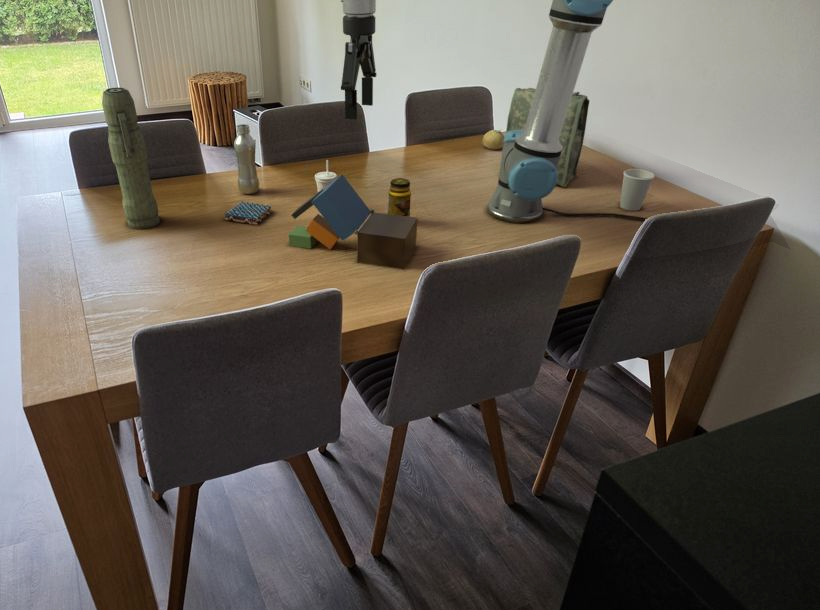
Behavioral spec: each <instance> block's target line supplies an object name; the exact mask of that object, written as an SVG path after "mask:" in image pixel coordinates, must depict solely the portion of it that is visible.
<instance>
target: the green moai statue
mask: <svg viewBox="0 0 820 610" xmlns="http://www.w3.org/2000/svg"><path fill="white" fill-rule="evenodd" d="M101 105H102V110H103V115H104V119H105V123H106V125H107V127H108V128H107V132H108V137H107V142H108V143H107V144H108V147H109V151H110V156H111V160H112V163H113V164H114V166H115V170H116V173H117V178H118V182H119V187H120V190H121V195H122V200H121V201H122V209H123V214H124V217H125V218H126V223H127V226H128V227H129V228H131V229H134V230H145V229H149V228H153V227H155V226H157V225H158V224H160V221H161V220H160V216H159V206H158V202H157V200H156V198H155V197H154V191H153V186H152V182H151V177H150V172H149V171H150V170H149V167H148V162H147V161H148V157H149V156H148V153H147V152H148V151H147V147H146V143H145V138H144V136H143V134H142V132H141V130H140V126H139V123H138V121H139V120H138V115H137V110H136V104H135V101H134V98H133V97H132V95H131V92H130V91H129V89H127V88H125V87H111V88H106V89H105V90H103V91H102V97H101Z"/></svg>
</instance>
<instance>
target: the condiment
mask: <svg viewBox="0 0 820 610" xmlns="http://www.w3.org/2000/svg"><path fill="white" fill-rule="evenodd" d="M411 196H412V191H411V181H410V180H409V179H407V178H405V177H396V178H393V179H392V180H391V181H390V186H389V190H388V205H387V211H388V212H387V214H392V215H400V216H408V217H411V216H410V215H411V199H412V198H411Z"/></svg>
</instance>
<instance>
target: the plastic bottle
mask: <svg viewBox="0 0 820 610" xmlns="http://www.w3.org/2000/svg"><path fill="white" fill-rule="evenodd" d="M250 133H251V130H250V125H249V124H243V123H242V124H237V125H236V134H237V135H236V137H235V139H234V143H233V149H234V153H235V156H236V163H237V173H238V174H237V175H238V178H237V187H238V190H239V191H240V192H241V194H244V195H245V194H246V195H249V194H250V195H251V194H256V192H258V191H259V189H260V180H259V177H258V172H257V166H256V149H257V147H256V145H257V144H256V140H255V139H254V138H253V136H252V135H251V134H250Z"/></svg>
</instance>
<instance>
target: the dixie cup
mask: <svg viewBox="0 0 820 610" xmlns="http://www.w3.org/2000/svg"><path fill="white" fill-rule="evenodd" d="M622 174H623V178H622V179H623V180H622V187H621V194H620V195H621V196H620V202H619V207H620V208H621V209H623V210H625V211H631V212H634V211H635V212H636V211H640V210H641V208H642V206H643V203H644V201H645V198H646V197H647V194H648V192H649V189H650V187H651V185H652V182H653V180H654V178H655V177H656V176H655V173H653V172H651V171H649V170H646V169H641V168H629V169H626V170H624V171H623V173H622Z"/></svg>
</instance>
